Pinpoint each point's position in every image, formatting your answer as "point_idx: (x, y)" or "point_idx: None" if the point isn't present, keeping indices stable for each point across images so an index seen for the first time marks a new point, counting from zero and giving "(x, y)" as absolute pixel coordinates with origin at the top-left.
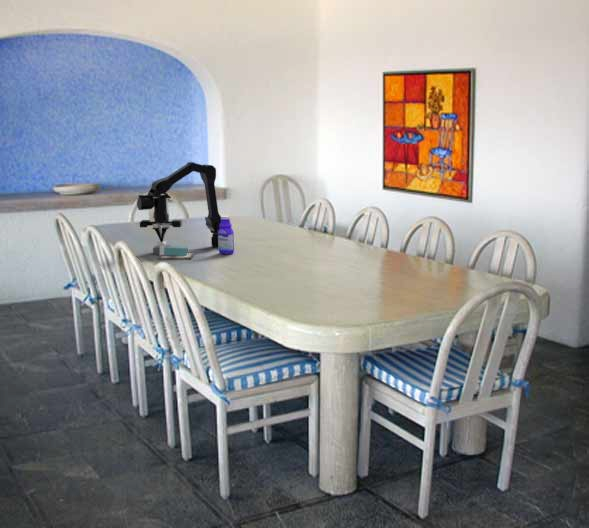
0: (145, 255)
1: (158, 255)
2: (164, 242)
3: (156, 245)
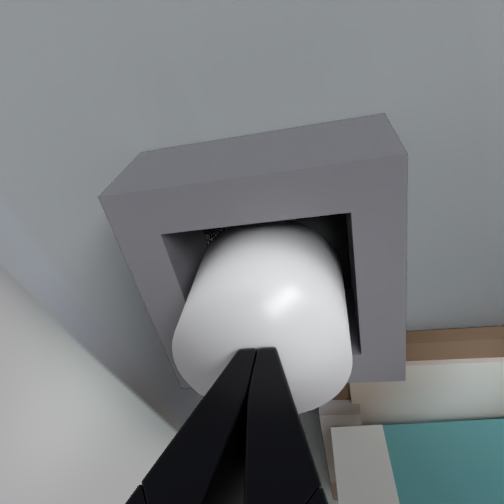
0: (148, 368)
1: (331, 481)
2: (334, 395)
3: (127, 222)
